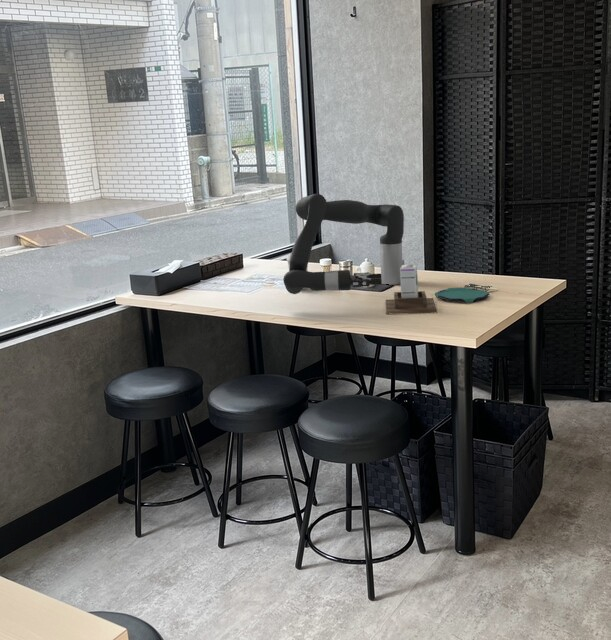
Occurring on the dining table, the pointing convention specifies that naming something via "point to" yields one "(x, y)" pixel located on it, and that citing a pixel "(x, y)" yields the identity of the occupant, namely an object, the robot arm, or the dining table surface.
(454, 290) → the green flat pad
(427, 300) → the socket stand
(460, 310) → the dining table surface
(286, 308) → the dining table surface
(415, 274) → the syrup box
